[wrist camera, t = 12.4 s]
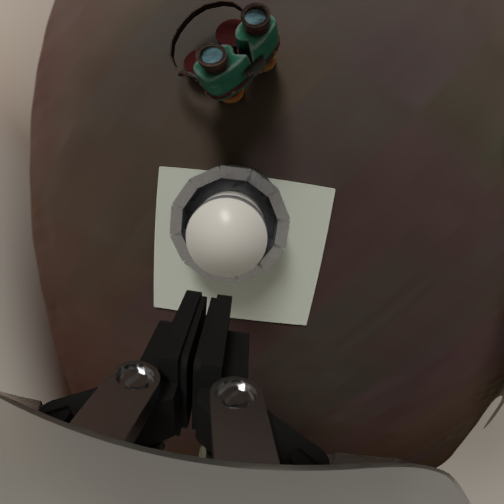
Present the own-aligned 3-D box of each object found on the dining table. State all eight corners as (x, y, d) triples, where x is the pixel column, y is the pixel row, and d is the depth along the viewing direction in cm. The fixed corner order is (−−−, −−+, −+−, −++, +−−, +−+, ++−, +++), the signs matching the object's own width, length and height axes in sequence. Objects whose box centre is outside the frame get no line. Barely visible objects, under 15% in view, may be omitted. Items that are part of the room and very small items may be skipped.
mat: (334, 188, 30) (335, 189, 30) (305, 323, 36) (306, 325, 35) (160, 166, 30) (159, 166, 29) (154, 305, 35) (153, 306, 34)
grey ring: (289, 171, 30) (297, 176, 24) (274, 265, 33) (278, 288, 27) (188, 159, 29) (175, 161, 24) (180, 253, 32) (167, 274, 27)
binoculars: (202, -44, 15) (303, 13, 16) (223, 11, 25) (294, 62, 26) (120, 29, 17) (211, 97, 18) (164, 67, 27) (232, 122, 28)
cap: (269, 193, 26) (273, 203, 22) (259, 259, 28) (261, 282, 23) (199, 185, 26) (188, 193, 21) (193, 251, 28) (182, 272, 23)
